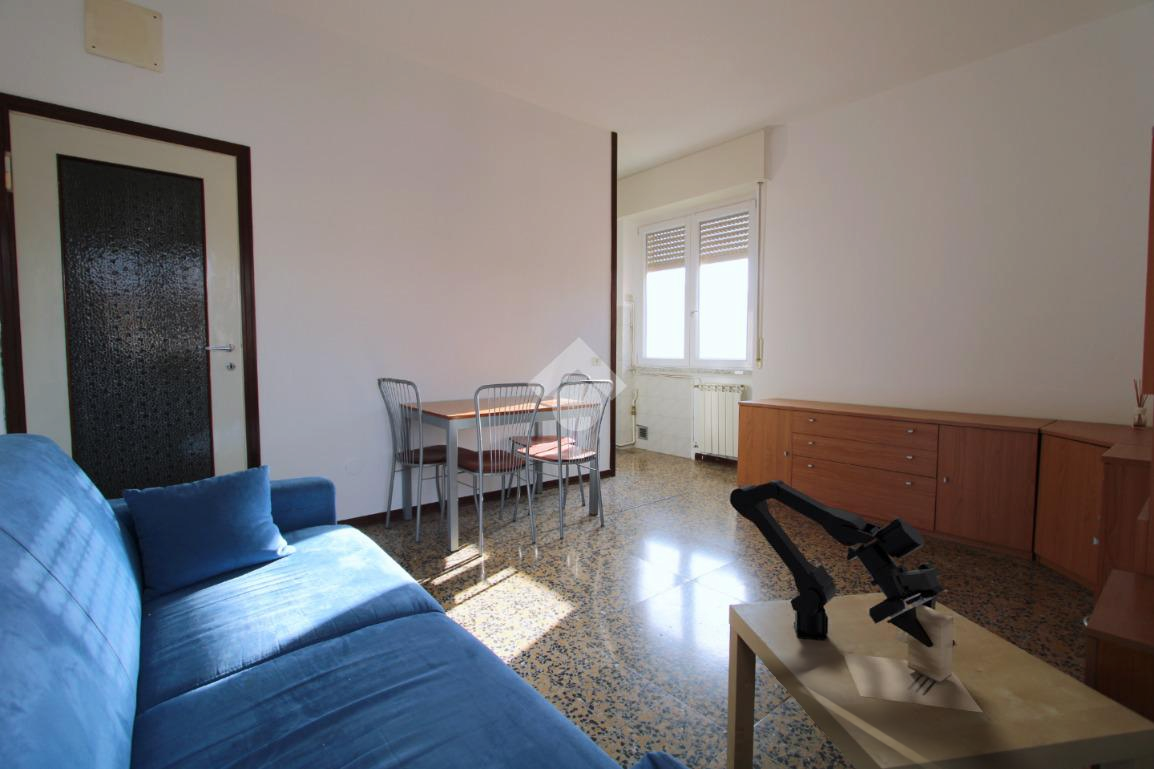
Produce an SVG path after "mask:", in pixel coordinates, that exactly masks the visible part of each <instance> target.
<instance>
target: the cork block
mask: <svg viewBox="0 0 1154 769" xmlns="http://www.w3.org/2000/svg"><path fill="white" fill-rule="evenodd" d="M916 618H917V619H918V621H919V622H920V624H921V625H922V627H923V629H924V630H925V632H926V633H927V635H928V636H929V638H930V640H931V641H932V643H933V646H931V647H927V646H926V645H924V644H923V643H921V642H920V641H918V640H917V639H915V638H914V637H912V636H911V635H909V634H908V643H907V660H908V668H910V669H912V670H914V671H916V672H918V673H920V674H922V675H924V676H926V677H928V678H931V679H933V680H935V681H937V682H939V683H941V682H942V681H944V680H945V679H947V678H949V677H950V676H952V671H953V645H954V644H953V642H954V641H953V640H954V638H953V637H954V616H953V615H951V614H947V613H945V612H941V611H940V610H936V609H935V610H934V609H932V608H929V607H926V606H924V605H919V606H916Z"/></svg>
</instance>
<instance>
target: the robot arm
mask: <svg viewBox="0 0 1154 769" xmlns="http://www.w3.org/2000/svg"><path fill="white" fill-rule="evenodd" d="M771 499H774V500H776V501H778V502H779V503H780V504H783V505H784V506H786V507H788V508H790V509H791V510H793V511H794V512H796V513H799V514H800V515H803V516H804V517H805V518H808V519H810V520H811V521H813V522H815V523H816V524H818V525H820V527H821V528H822V529H823V530H824V531H825V532H826V534H827V535H829V536H830V537H831V538H833V539H834V540H835V541H836V542H838V543H839V544H841V545H842V546H844V547H848V548H847V556H846V560H848V561H853V560H856V559H858V561H859V562H860V563H861V565H862V566H863V567H864V568H865V570H866V571H867V573H868V574H869V575H870V577H871V579H872V580H871V581H870V582H869V583H870V584H871V585H872V587H875V586H877V587H878V588H879V589H880V591H881V592H882V593H883V595H884V596H885V597H886V599H885V598H884V600H883V601H881V602H879V603H877V604H875V605H874V606H872V607H870V608H869V610H868V611H869V612H868V615H869V617H870V619H871V620H872V622H873V623H874V624H875V625H876V624H878V623H880V622H883V621H885V620H886V619H887V618H889V617H890V619H888V620H887V621H886V622H887V624H891V625H893V626H895V627H897V628H898V629H899V628H900V629H901V630H903V631H905V632H906V633H908V634H909V635H911V636H912V637H914V638H915V639H917V640H918V641H920V642H921V643H923V644H924V645H926V646H927V647H931V646H933V643H932V641H931V640H930V638H929V636H928V635H927V633H926V632H925V630H924V629H923V627H922V625H921V624H920V622H919V621H918V619H917V618H916V606H919V605H924V606H926V607H929V608H932V609H934V610H936V603H937V601H938V600H939V597H938V594H941V593H942V592H944V591H945V589H944V588H943V586H942V585H941V583H940V580H939V576H941V572H940V571H938V570H937V568H936V567H935V566H933V564H932V563H931V562H924V563H921V564H918V569H914V570H910V571H909V570H908V568H906V567H905V566H904V565H900V566H899V565H898V564H897V563H896V562H895V560H894V559H893V558H897V559H903V558H904V557H906V556H908V555H909V554H911V553H913V552H915V551H916V550H917V549H919V548H921V547H923V546H925V543H926V542H925V540H924V538H923V536H922V534H921V533H920V531H919V530H918V529H917V527H915V526H913V525H912V524H910V523H909V522H907V521H906V520H905V521H904V520H903V518H901V517H900V516H897V517H896V518H894V519H893V520H892V521H890V523H888V524H887V525H885V526H881V525H877V524H875V523H872V522H871V523H870V522H868V521H866V520H865V519H864V517H862V516H860V515H859V514H856V513H853V512H849V511H847V510H843V509H839V508H833V507H831V506H827V504H825V503H822V502H821V501H818V500H817V499H815V498H813V497H812V496H810V495H808V494H805V493H803V491H800V490H798V489H796V488H794V487H793V486H790V485H788V484H787V483H785V482H784V481H783V480H782V479H774V480H771V481H769V482H765V483H761V484H757V485H755V484H752V483H751V484H750V483H748V484H745V485H743V486H740V487H737V488H735V489H733V490H732V491H731V492H730V496H729V503H730V504H731V506H732V507H733V509H735V511H736V512H737V513H738V514H739V515H741V516H742V517H743V518H745V519H746V520H748V521H749V522H751V523H752V524H754V526H755V527H756V528H757V529H758V531H759V532H760V533H761V535H762V537H764V539H765V540H766V541H767V542H768V544H769V545H770V546H771V547H772V550H773V551H774V552H775V553H776V554H777V555H778V557H779V558H780V559H781V561H782V562H783V564H784V565H785V566H786V567H787V568H788V570H789V571H790V573H791V574H792V577H793V581H794V584H795V587H796V590H797V592H798V594H797V595H795V597H793V598H792V599H791V600H790V604H791V607H792V611H794V622H793V627H795V628H794V631H795V635H796V636H797V638H801V639H812V640H819V641H820V640H821V641H827V640H828V636H827V635H828V634H829V617H828V614H827V612H826V609H825V606H826V605H827V604H828V603H829V602H830V601H831V600H832V599H833V598H834V597H835V596H836V594H837V586H836V584H835V581H834V580H835V578H834V577H832V576H831V575H830V574H829V573H828V571H827V569H826V568H825V566H824V565H823V564H820V565H819V566H816V565H814V564H812V563H811V562H809V561H808V559H807V558H806V557H805V556H804V554H803V553H802V552H801V551H800V549H799V548H798V547H797V545H796V544H795V543H794V542H793V540H792V539H791V537H789V535H788V534H787V532H786V531H785V530H784V529H783V528H782V527H781V525H780V524H779V523H778V521H777V520H776V519H775V518H774V515H772V514H771V512H770V509H769V506H768V501H767V500H771ZM875 539H876V540H875ZM873 540H875V541H873ZM872 541H873V542H872ZM857 544H859V545H858V546H856V545H857ZM855 546H856V547H855ZM910 606H911V608H910Z"/></svg>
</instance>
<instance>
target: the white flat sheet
mask: <svg viewBox="0 0 1154 769" xmlns="http://www.w3.org/2000/svg"><path fill="white" fill-rule="evenodd" d="M842 656H843V657H844V660H845V662H846V665H847V667H848V670H849V672H850V675H851V676H852V680H853V681H854V684H855V686H856V689H857V691H858V693H859V696H860V697H862V698H868V699H869V698H870V699H876V700H877V699H878V700H885V701H892V702H901V703H908V704H915V705H922V706H931V707H939V708H946V709H955V710H960V711H961V710H962V711H968V712H969V711H970V712H975V713H976V712H978V713H984V712H983V710H982V709H981V707H980V706H979V704H978V703H977V702H976V701H975V699H974V697H972V695H971V694H970V692H969V691H968V690H967V688H966V687H965V686H964V685H963V683H962V682H961V680H960V679H959V678H958V676H957V675H956V673H955V672H954V671H953V670H952V676H950V677H949V678H947V679H945V680H944V681H942V682H941V683H939V682H937V681H935V680H933V679H931V678H928V677H926V676H924V675H922V674H920V673H918V672H916V671H914V670H912V669H910V668H908V659H907V660H906V659H898V658H890V657H881V656H872V655H864V654H863V655H862V654H853V653H845V652H843V653H842Z"/></svg>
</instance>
